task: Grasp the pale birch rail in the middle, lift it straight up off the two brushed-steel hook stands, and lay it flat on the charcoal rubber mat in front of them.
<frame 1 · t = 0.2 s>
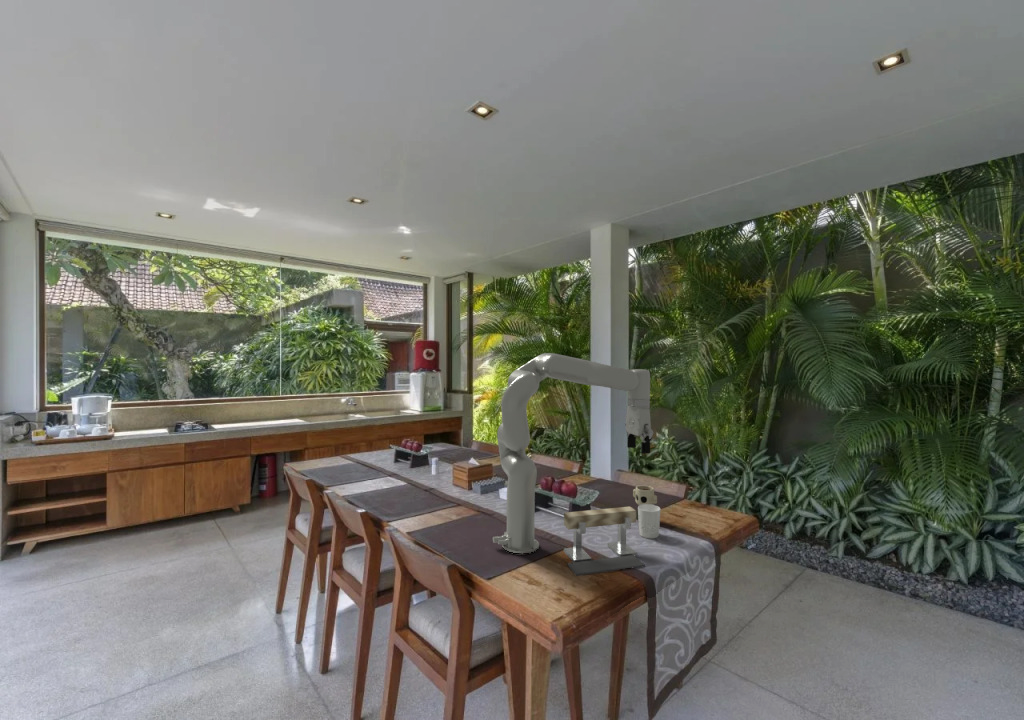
hand: (638, 450, 169), 31 cm above the table, tool pointing down, fingers open, 9 cm apart
mat: (606, 565, 146), on the table
white cup: (648, 535, 170), on the table
rail: (600, 523, 154), point 10 cm above the table, touching hook stands
character mug: (644, 520, 184), on the table
hook stands: (599, 553, 154), on the table
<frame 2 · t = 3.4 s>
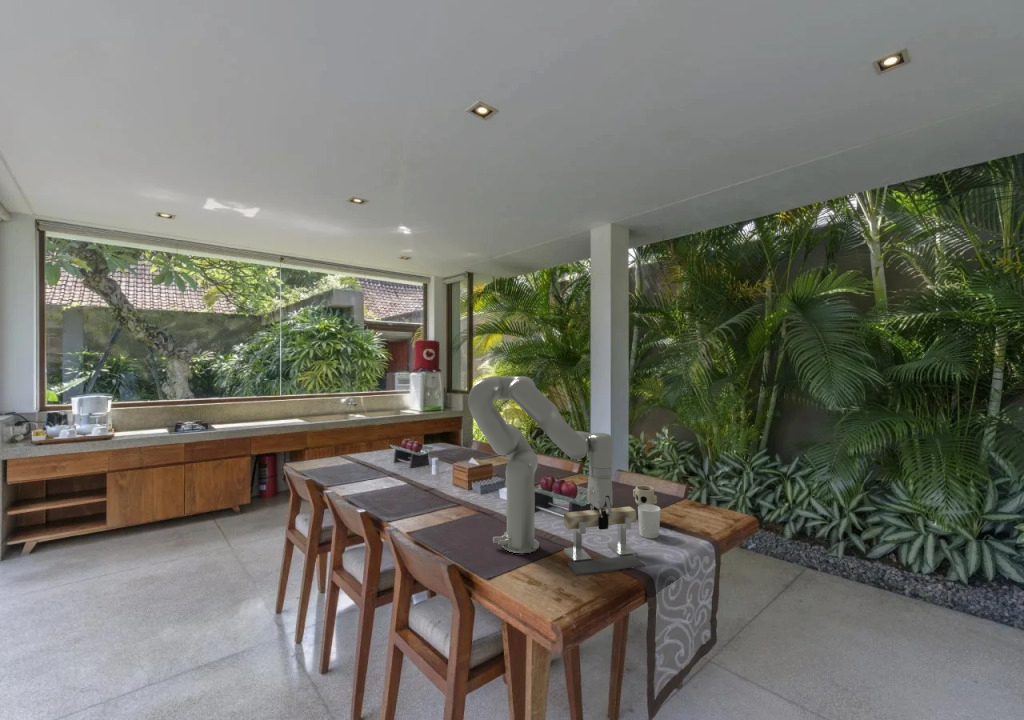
hand: (600, 525, 154), 9 cm above the table, tool pointing down, fingers closed on rail, 4 cm apart
rail: (600, 523, 154), point 10 cm above the table, touching gripper, hook stands
everything else where it was.
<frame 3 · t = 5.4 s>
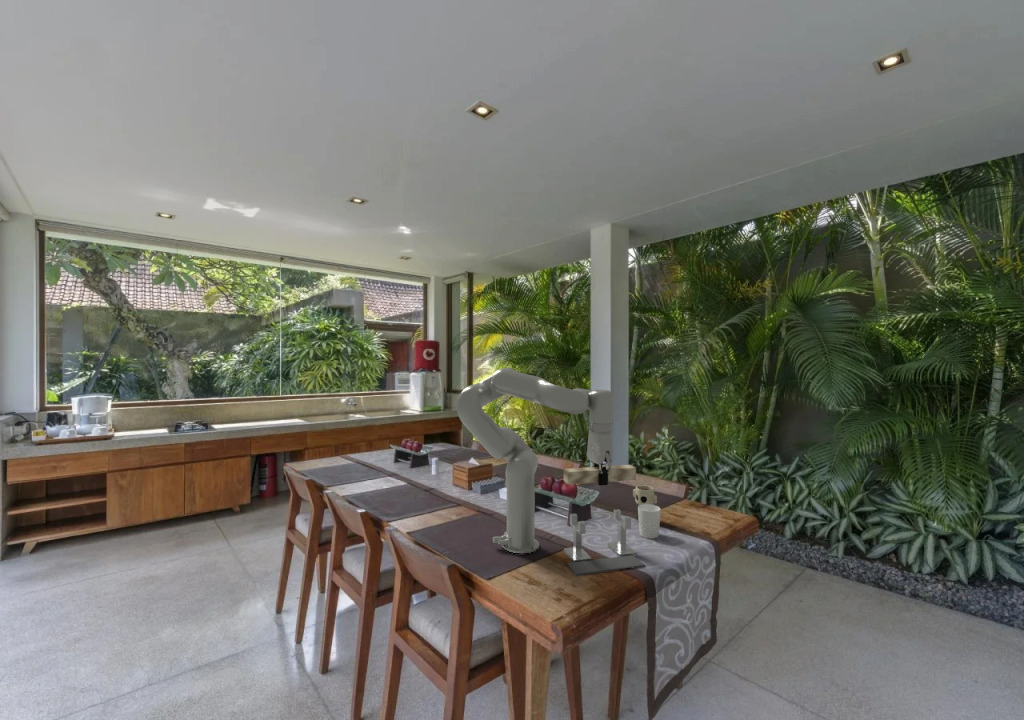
hand: (599, 482, 154), 24 cm above the table, tool pointing down, fingers closed on rail, 4 cm apart
rail: (600, 480, 154), point 24 cm above the table, touching gripper
everything else where it was.
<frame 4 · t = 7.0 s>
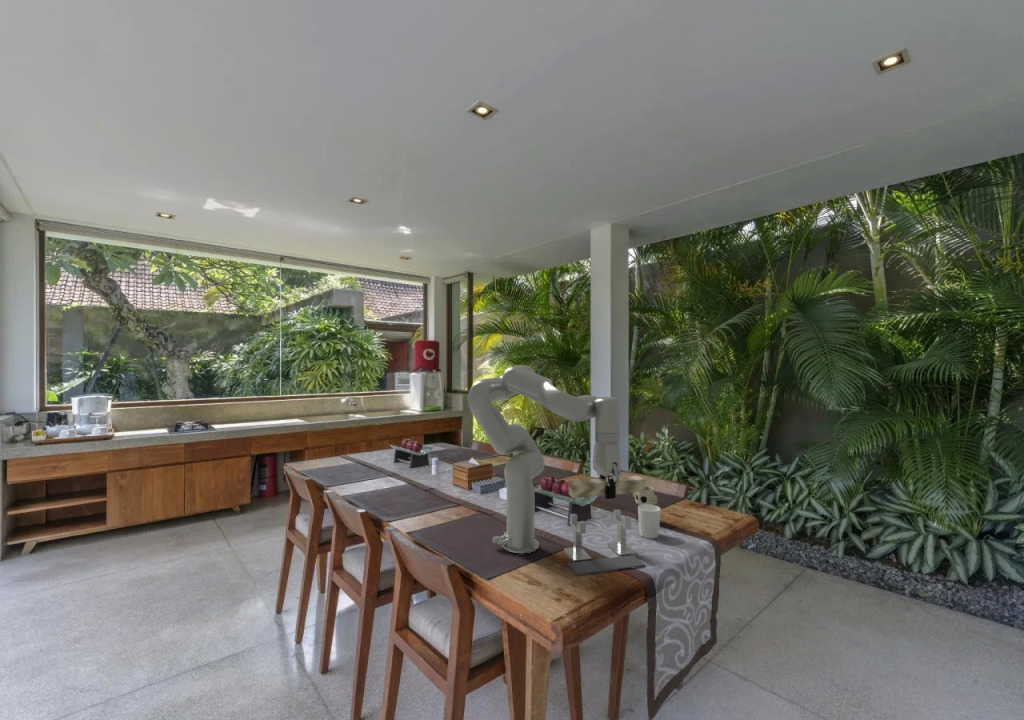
hand: (606, 495, 145), 22 cm above the table, tool pointing down, fingers closed on rail, 4 cm apart
rail: (607, 493, 145), point 23 cm above the table, touching gripper
everything else where it was.
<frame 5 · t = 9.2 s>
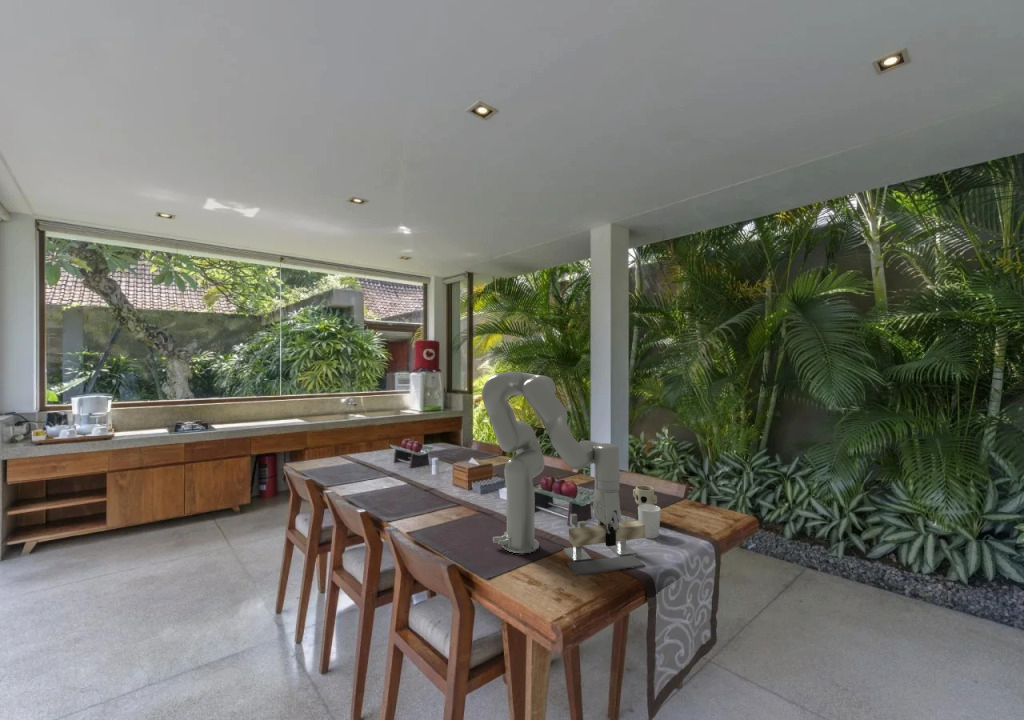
hand: (607, 541, 145), 8 cm above the table, tool pointing down, fingers closed on rail, 4 cm apart
rail: (607, 539, 145), point 8 cm above the table, touching gripper
everything else where it was.
when the fingers open (2 cm above the table, at t = 10.9 s): rail drops 2 cm, resting on mat.
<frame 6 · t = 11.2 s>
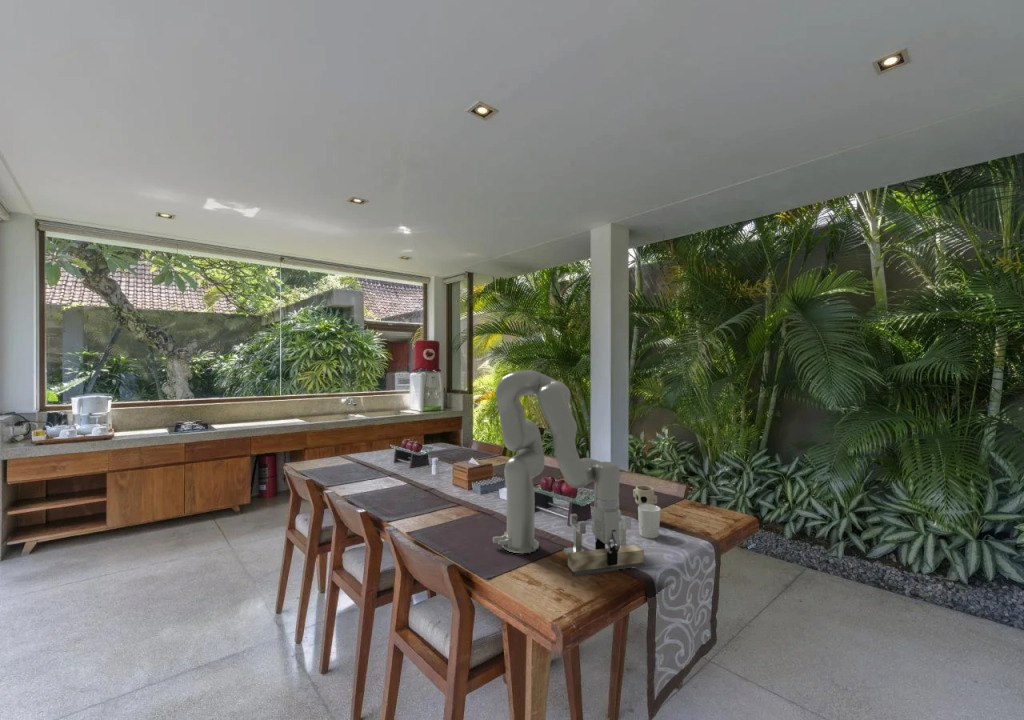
hand: (606, 558, 146), 2 cm above the table, tool pointing down, fingers open, 7 cm apart
rail: (606, 564, 146), point 1 cm above the table, touching mat
everything else where it was.
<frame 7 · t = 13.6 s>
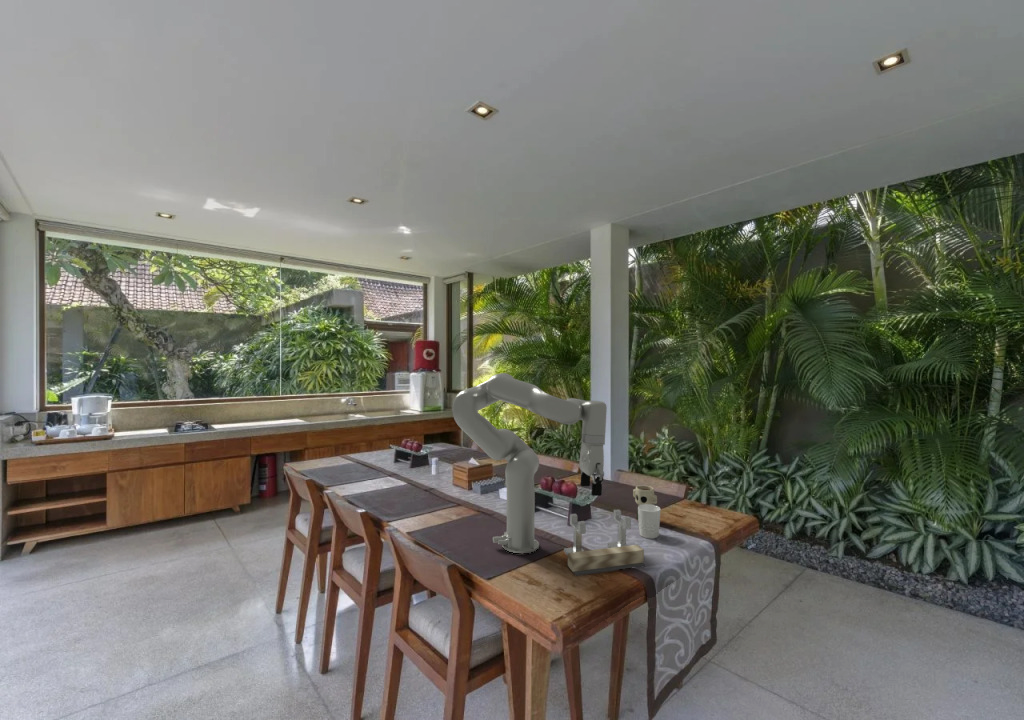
hand: (590, 490, 153), 21 cm above the table, tool pointing down, fingers open, 9 cm apart
nothing on the table moved.
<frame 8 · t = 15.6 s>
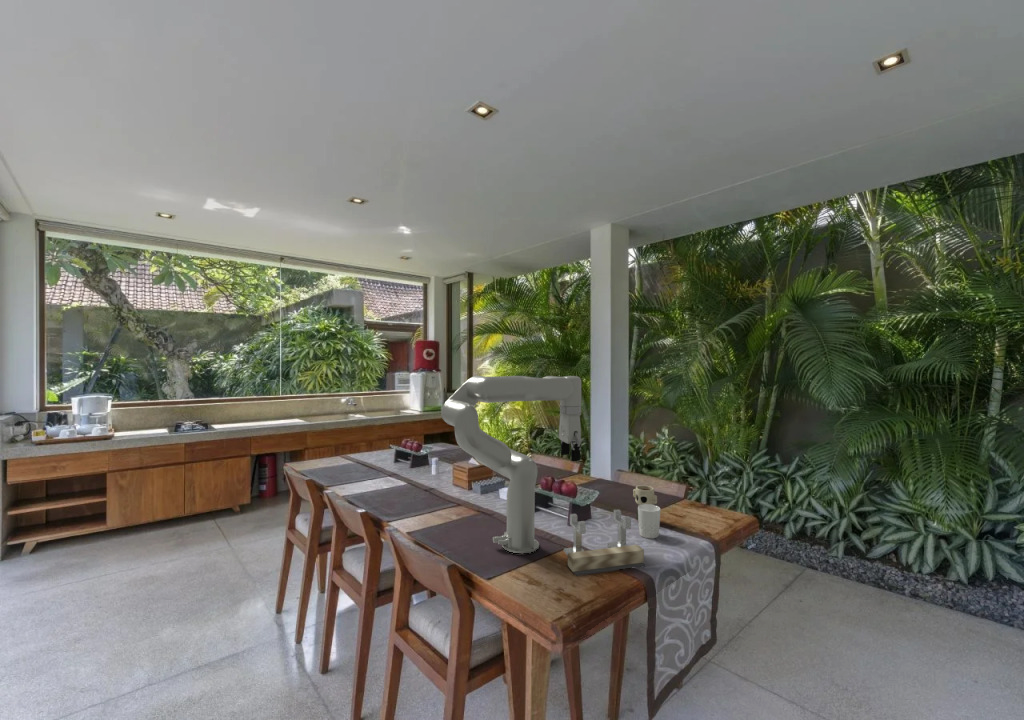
hand: (570, 457, 168), 28 cm above the table, tool pointing down, fingers open, 9 cm apart
nothing on the table moved.
at the end: rail inside the target area on the mat (0.0 cm from its centre), point 0.6 cm above the mat's base; rail tilted 0°; the gripper is holding nothing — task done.
